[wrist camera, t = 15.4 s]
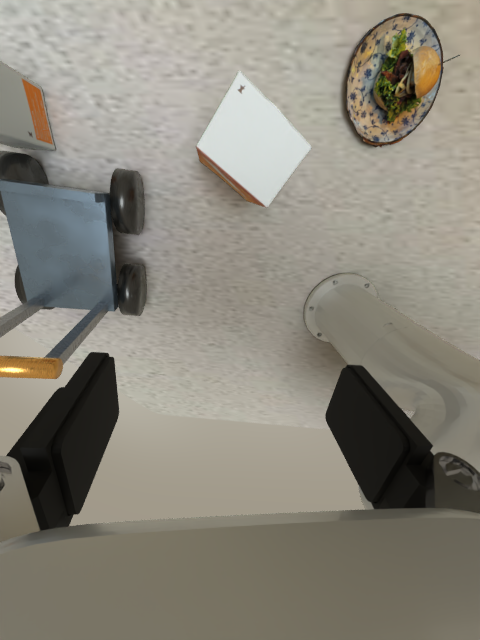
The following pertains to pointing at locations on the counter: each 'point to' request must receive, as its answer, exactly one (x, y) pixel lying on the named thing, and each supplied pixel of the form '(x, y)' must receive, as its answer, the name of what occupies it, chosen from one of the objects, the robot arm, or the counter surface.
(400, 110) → the burger
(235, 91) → the small box
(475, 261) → the counter surface
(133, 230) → the trolley
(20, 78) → the skincare box
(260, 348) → the counter surface
